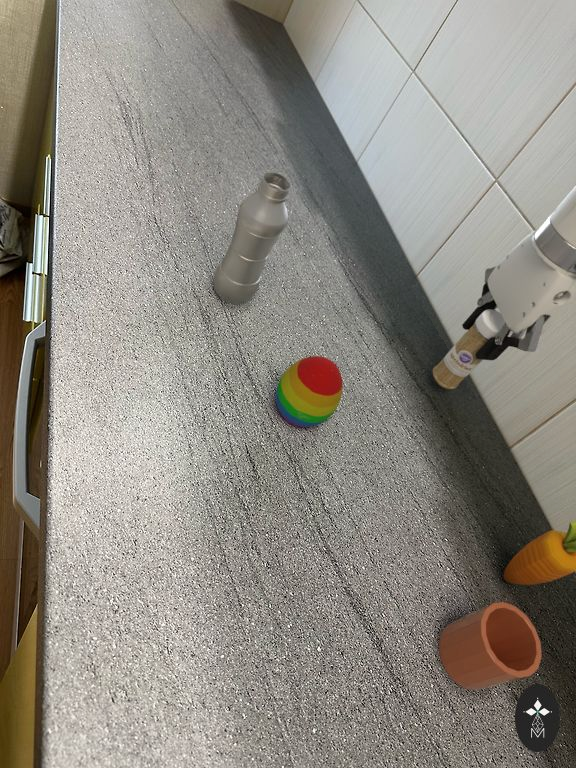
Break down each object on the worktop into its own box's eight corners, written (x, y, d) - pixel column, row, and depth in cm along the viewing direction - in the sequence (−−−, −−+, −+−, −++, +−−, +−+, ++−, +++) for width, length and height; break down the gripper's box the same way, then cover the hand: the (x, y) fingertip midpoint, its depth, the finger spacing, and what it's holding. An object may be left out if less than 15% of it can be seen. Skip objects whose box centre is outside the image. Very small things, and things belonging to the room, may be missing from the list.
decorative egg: (301, 446, 73) (333, 404, 66) (256, 403, 75) (282, 357, 67) (336, 414, 79) (369, 372, 71) (294, 374, 80) (322, 329, 73)
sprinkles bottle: (429, 381, 86) (481, 322, 76) (434, 361, 89) (485, 302, 79) (455, 395, 86) (511, 338, 76) (459, 375, 89) (514, 318, 79)
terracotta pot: (480, 618, 68) (524, 599, 62) (502, 685, 64) (552, 672, 58) (430, 624, 66) (471, 604, 60) (450, 694, 62) (496, 681, 56)
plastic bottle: (205, 275, 85) (244, 160, 70) (247, 277, 88) (293, 167, 73) (214, 308, 82) (258, 195, 67) (258, 309, 85) (308, 201, 70)
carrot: (481, 564, 73) (565, 518, 62) (508, 555, 75) (593, 509, 64) (501, 603, 71) (591, 563, 59) (528, 593, 73) (620, 552, 62)
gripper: (625, 302, 64) (521, 394, 78) (560, 204, 73) (477, 302, 87) (574, 294, 61) (476, 390, 75) (514, 194, 71) (436, 296, 84)
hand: (478, 342), depth 81 cm, fingers closed on sprinkles bottle, 4 cm apart
